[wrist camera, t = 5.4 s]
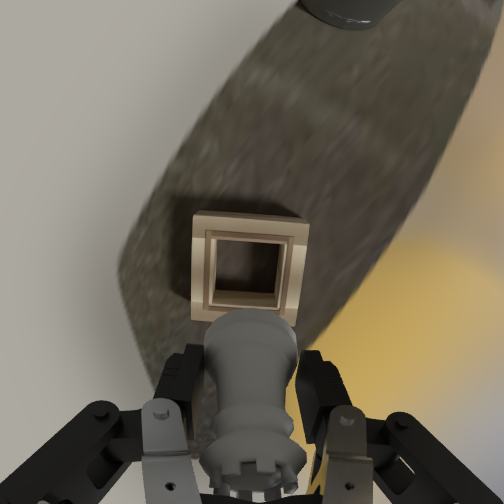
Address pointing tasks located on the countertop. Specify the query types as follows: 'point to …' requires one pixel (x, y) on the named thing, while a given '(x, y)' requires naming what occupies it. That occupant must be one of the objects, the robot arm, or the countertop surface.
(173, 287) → the countertop surface
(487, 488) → the robot arm
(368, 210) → the countertop surface
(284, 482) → the rook chess piece
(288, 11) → the countertop surface
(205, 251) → the socket block
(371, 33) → the countertop surface
